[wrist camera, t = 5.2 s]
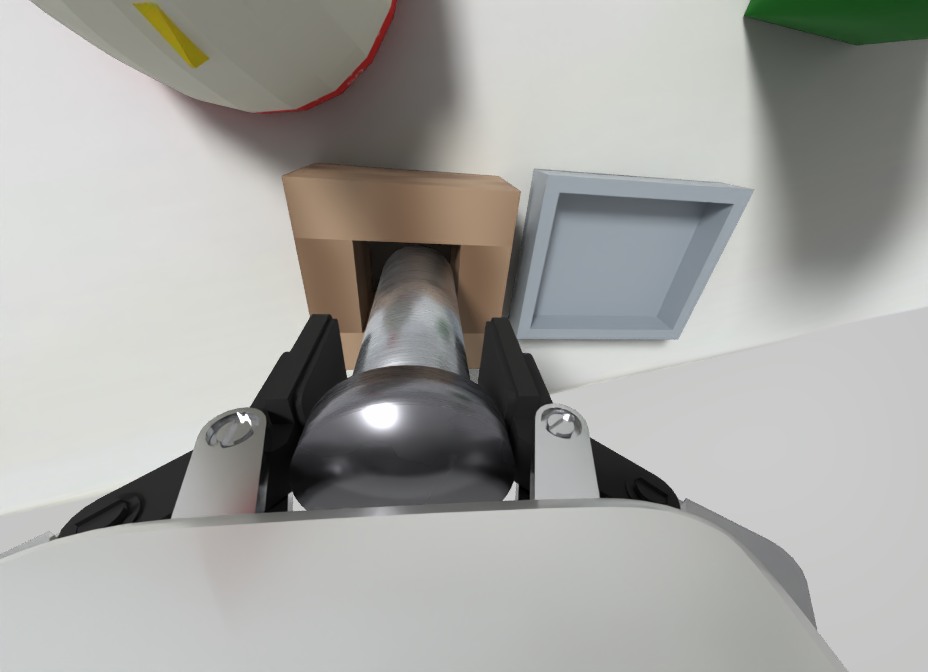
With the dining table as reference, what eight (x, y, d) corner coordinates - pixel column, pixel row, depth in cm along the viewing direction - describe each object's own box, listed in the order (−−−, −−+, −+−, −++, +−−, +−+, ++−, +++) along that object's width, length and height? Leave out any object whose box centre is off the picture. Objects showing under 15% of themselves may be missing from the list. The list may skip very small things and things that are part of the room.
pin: (470, 233, 16) (534, 403, 6) (463, 322, 18) (499, 532, 9) (362, 227, 15) (260, 407, 6) (371, 321, 18) (311, 544, 9)
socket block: (498, 176, 19) (520, 191, 15) (480, 325, 24) (493, 368, 20) (314, 163, 17) (281, 175, 13) (339, 324, 23) (320, 369, 19)
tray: (720, 182, 20) (754, 189, 18) (657, 321, 26) (678, 339, 24) (533, 168, 19) (548, 174, 17) (508, 320, 24) (516, 338, 22)
